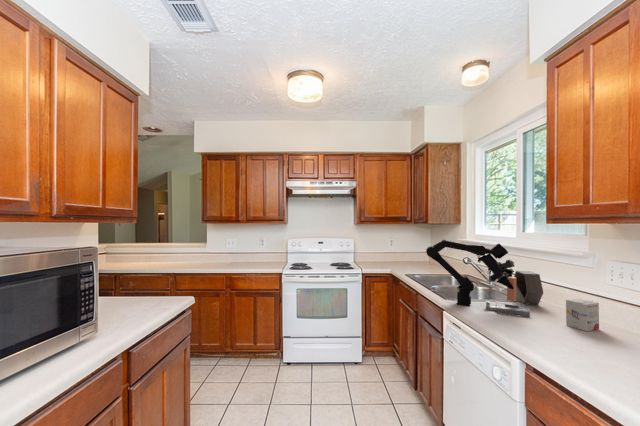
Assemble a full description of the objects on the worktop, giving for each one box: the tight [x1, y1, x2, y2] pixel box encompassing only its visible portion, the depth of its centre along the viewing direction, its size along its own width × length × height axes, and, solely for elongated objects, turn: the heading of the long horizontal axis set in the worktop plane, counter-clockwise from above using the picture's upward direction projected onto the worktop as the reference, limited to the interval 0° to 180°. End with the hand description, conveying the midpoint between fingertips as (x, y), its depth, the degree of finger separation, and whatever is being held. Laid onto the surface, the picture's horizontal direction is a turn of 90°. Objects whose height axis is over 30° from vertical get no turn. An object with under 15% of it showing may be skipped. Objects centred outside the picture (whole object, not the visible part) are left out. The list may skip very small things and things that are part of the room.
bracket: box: [485, 300, 497, 312], centre depth 164 cm, size 5×2×4 cm, turn 62°
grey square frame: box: [495, 301, 531, 318], centre depth 162 cm, size 14×14×2 cm
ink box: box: [565, 298, 600, 332], centre depth 139 cm, size 9×9×12 cm
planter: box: [513, 270, 544, 306], centre depth 179 cm, size 17×8×21 cm
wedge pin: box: [506, 276, 517, 303], centre depth 162 cm, size 3×4×12 cm
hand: (514, 288), depth 161 cm, fingers closed on wedge pin, 4 cm apart
